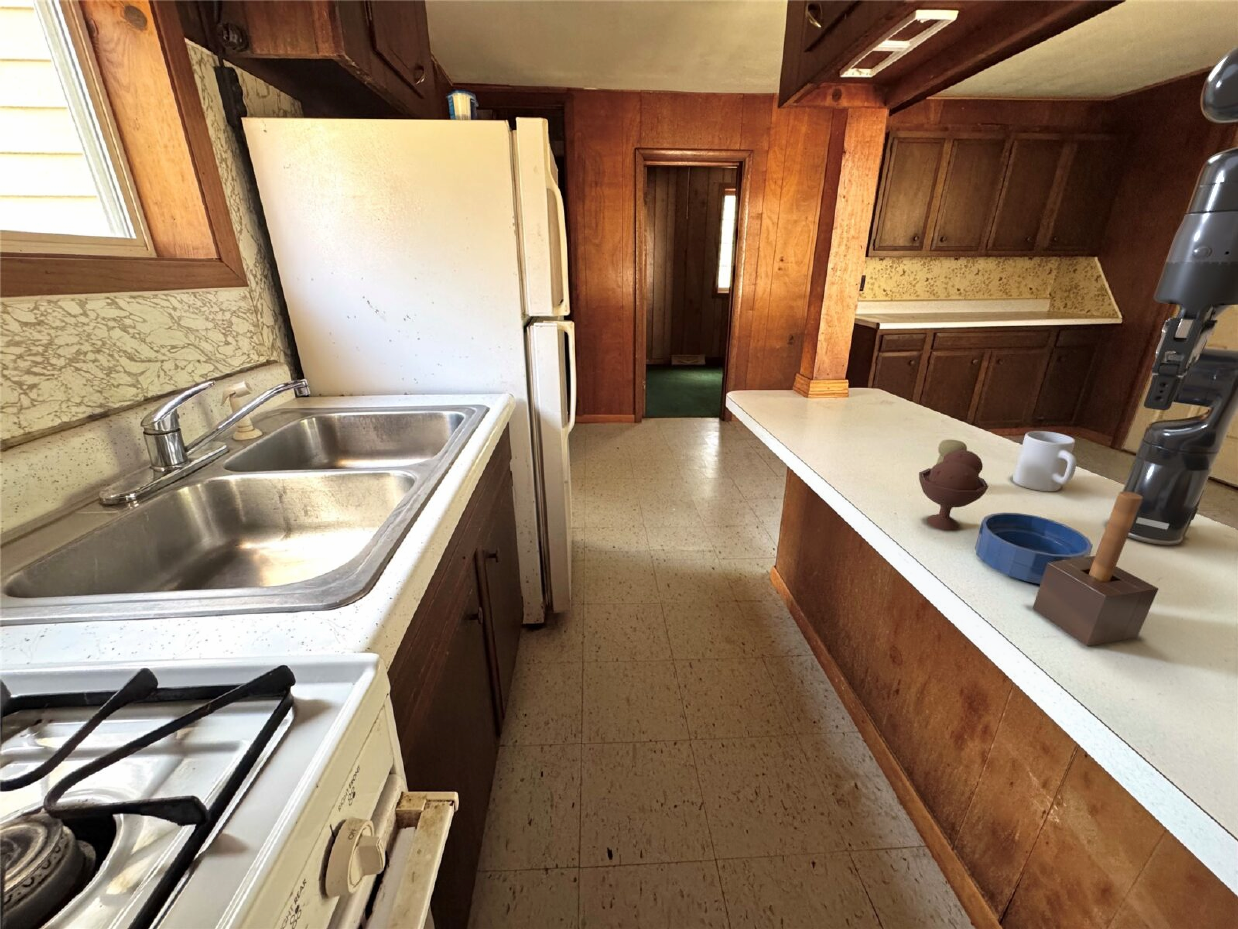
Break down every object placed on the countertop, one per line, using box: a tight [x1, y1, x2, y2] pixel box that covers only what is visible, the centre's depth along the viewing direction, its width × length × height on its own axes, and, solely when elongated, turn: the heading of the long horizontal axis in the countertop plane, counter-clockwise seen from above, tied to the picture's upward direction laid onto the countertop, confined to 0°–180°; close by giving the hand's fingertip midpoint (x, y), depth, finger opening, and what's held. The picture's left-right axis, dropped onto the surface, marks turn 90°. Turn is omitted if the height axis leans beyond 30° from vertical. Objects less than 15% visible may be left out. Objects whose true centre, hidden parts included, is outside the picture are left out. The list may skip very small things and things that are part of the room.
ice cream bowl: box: [918, 449, 989, 532], centre depth 96 cm, size 11×11×15 cm
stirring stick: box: [1088, 490, 1143, 583], centre depth 68 cm, size 2×2×20 cm
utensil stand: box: [1032, 555, 1160, 647], centre depth 70 cm, size 8×8×8 cm
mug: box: [1012, 430, 1077, 492], centre depth 110 cm, size 12×8×11 cm
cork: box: [935, 439, 968, 465], centre depth 111 cm, size 6×6×11 cm
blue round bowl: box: [974, 512, 1093, 585], centre depth 84 cm, size 14×14×6 cm
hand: (1161, 401), depth 62 cm, fingers open, 8 cm apart
